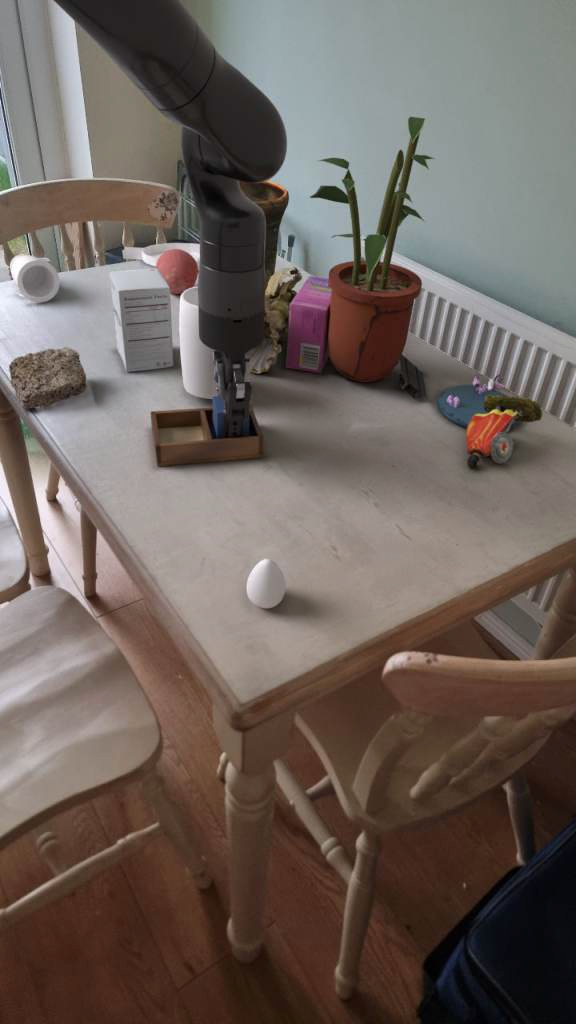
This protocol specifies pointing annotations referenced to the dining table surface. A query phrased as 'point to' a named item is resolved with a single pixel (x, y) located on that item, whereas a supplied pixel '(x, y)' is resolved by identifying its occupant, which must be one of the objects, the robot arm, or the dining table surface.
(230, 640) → the dining table surface
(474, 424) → the figurine
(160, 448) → the sorter
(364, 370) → the potted plant
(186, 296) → the cup
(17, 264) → the downlight
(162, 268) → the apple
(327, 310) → the box
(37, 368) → the stone
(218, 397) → the block
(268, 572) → the egg
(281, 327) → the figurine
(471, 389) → the blue flower bed
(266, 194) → the vessel
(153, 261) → the two-handled dish
